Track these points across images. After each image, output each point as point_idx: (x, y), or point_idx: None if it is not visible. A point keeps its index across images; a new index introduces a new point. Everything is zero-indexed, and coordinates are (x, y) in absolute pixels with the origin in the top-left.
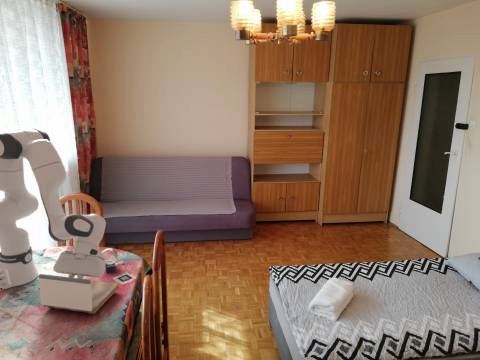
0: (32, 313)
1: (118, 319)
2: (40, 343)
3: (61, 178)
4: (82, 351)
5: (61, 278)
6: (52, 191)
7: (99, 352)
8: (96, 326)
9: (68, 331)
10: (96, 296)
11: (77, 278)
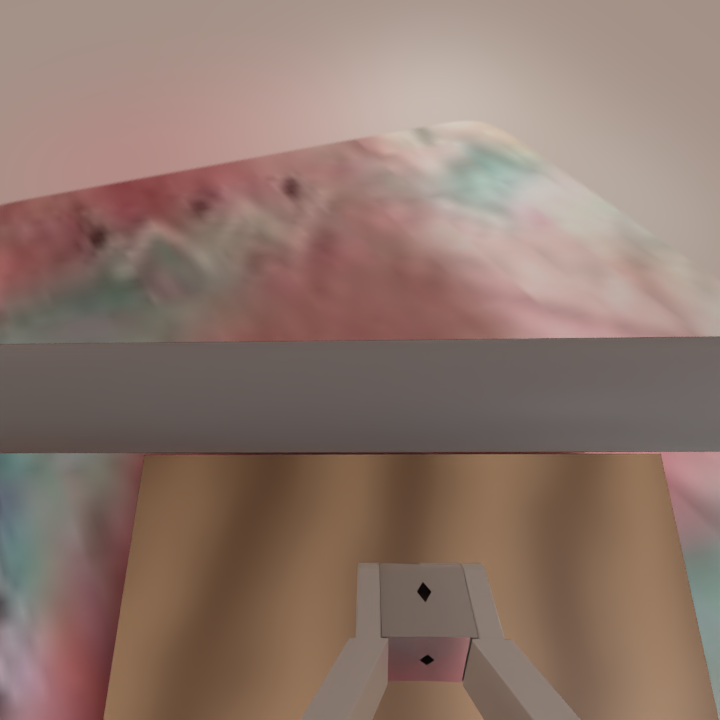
0: None
1: (14, 479)
2: (377, 203)
3: None
4: (130, 202)
5: (509, 339)
6: None
7: (41, 212)
8: None
9: (288, 308)
10: (211, 661)
11: (43, 405)
